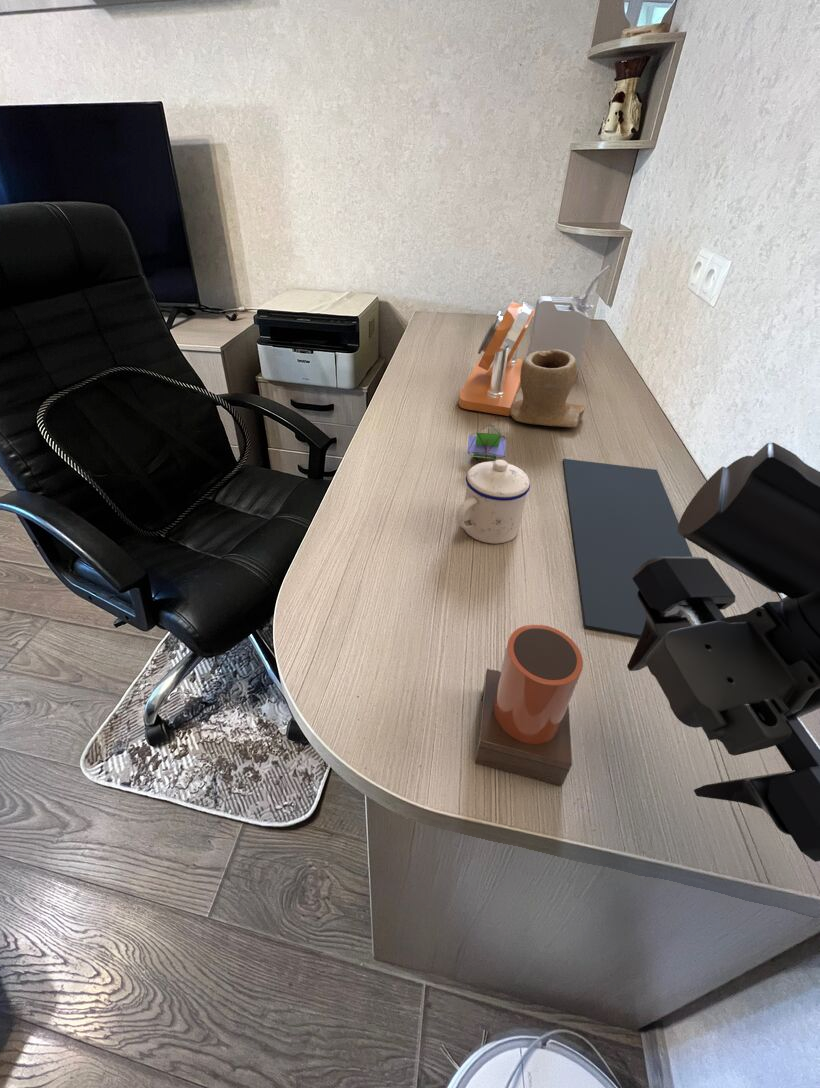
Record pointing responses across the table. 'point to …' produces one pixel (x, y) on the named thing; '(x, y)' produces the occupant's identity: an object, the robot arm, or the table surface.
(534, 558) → the table surface
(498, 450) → the geometric puzzle
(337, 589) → the table surface
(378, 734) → the table surface
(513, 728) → the cup
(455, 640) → the table surface
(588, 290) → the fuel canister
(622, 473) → the desk mat
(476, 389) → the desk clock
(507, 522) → the teacup with lid
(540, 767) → the brown square slab
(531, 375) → the stone cup
